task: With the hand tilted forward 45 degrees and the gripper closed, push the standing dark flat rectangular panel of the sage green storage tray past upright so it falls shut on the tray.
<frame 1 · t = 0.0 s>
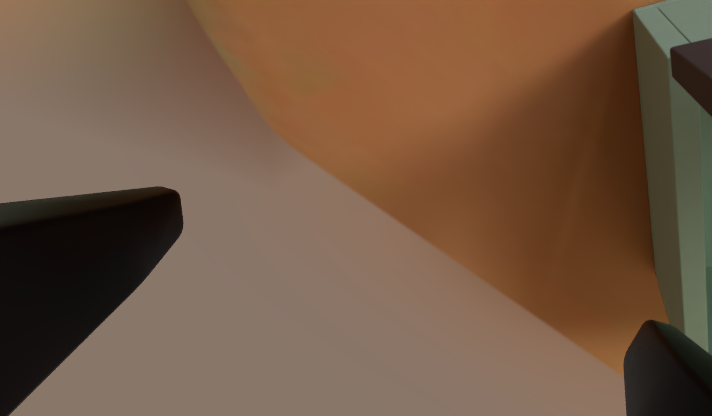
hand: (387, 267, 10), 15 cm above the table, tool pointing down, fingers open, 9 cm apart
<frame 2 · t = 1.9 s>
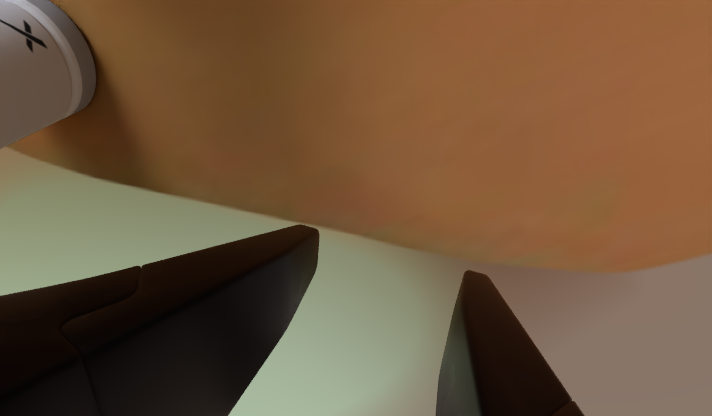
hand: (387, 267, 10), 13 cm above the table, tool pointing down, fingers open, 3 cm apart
travel mug: (49, 50, 26), on the table
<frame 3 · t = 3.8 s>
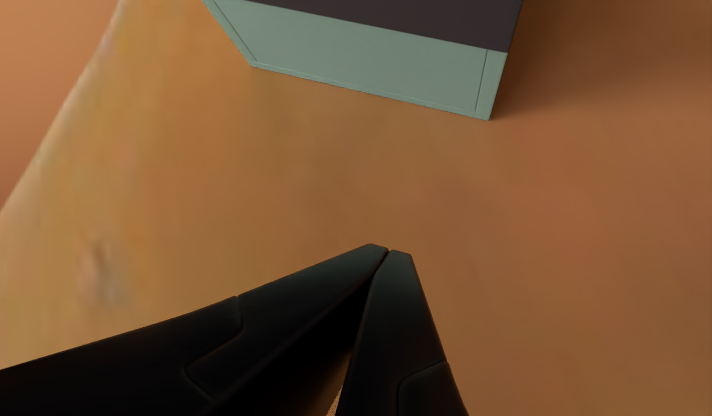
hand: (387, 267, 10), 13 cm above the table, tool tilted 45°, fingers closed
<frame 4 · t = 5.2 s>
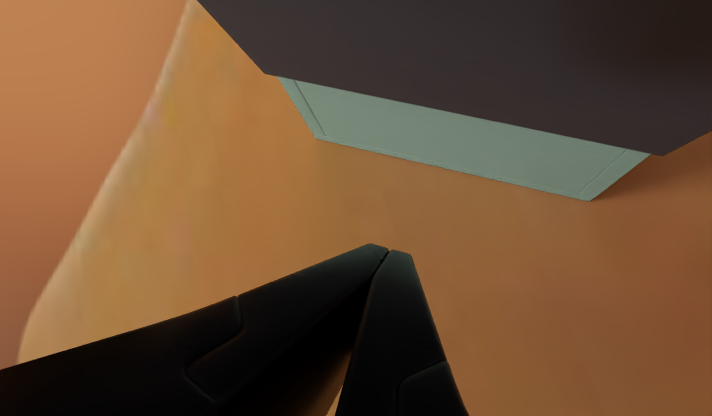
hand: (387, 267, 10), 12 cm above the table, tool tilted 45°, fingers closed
sage green storage tray: (477, 45, 23), on the table
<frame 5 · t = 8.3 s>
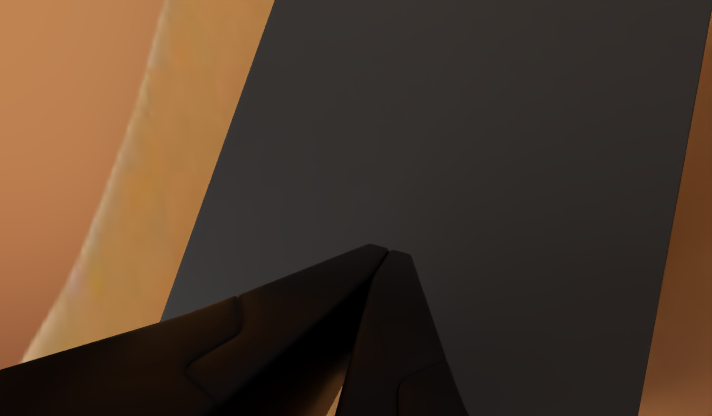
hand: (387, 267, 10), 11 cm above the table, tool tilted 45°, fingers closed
dark flat rectangular panel: (435, 160, 14), point 7 cm above the table, hinge at -0.2°
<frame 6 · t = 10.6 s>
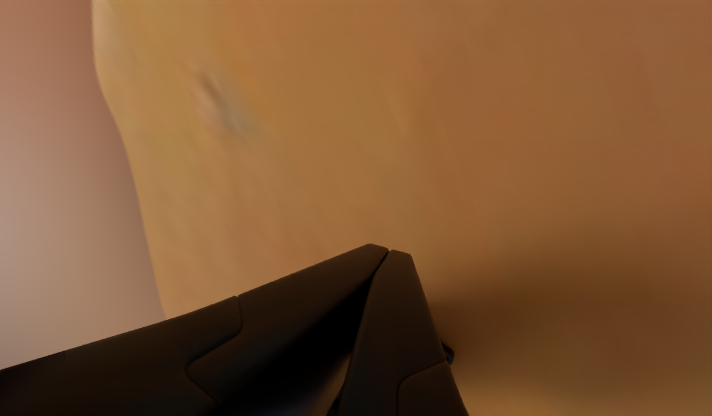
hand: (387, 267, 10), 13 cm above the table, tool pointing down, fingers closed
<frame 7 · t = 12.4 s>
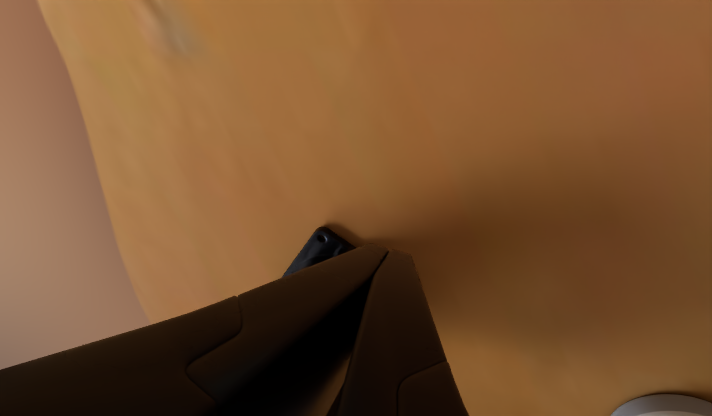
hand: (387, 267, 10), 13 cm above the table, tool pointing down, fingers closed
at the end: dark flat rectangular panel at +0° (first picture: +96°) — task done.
